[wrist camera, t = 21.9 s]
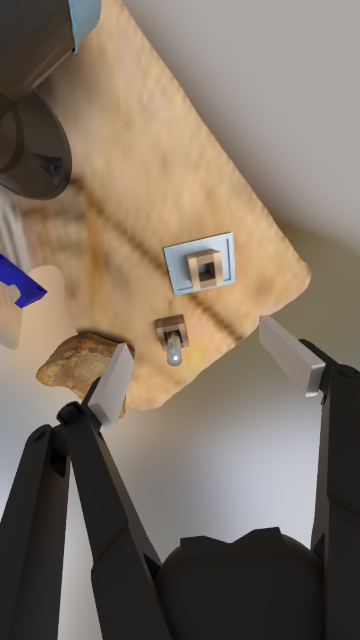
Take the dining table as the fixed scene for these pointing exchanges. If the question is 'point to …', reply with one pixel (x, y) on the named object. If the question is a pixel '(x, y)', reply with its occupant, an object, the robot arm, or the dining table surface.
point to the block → (208, 277)
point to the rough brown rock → (79, 364)
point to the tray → (180, 269)
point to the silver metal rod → (174, 348)
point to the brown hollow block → (170, 325)
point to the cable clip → (20, 283)
